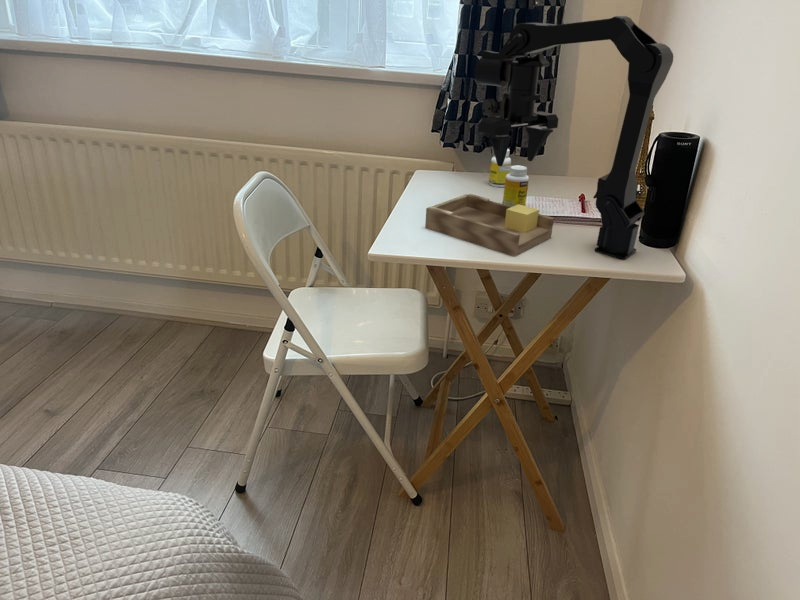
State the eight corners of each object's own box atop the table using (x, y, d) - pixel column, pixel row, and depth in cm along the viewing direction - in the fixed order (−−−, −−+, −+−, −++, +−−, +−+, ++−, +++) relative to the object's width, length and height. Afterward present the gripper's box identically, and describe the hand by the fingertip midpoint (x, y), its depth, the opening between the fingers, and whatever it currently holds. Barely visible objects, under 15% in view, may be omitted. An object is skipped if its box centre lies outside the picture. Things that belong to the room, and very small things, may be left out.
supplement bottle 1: (486, 182, 169) (489, 146, 165) (504, 181, 170) (508, 146, 165) (492, 187, 164) (495, 151, 160) (511, 187, 165) (515, 151, 161)
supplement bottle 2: (517, 213, 145) (522, 171, 141) (497, 208, 149) (502, 167, 144) (529, 208, 149) (534, 167, 144) (510, 203, 152) (514, 163, 148)
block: (536, 227, 131) (539, 209, 129) (524, 232, 128) (527, 214, 126) (516, 221, 134) (518, 204, 132) (504, 226, 131) (506, 209, 129)
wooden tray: (550, 237, 131) (554, 216, 129) (514, 256, 121) (517, 233, 119) (464, 212, 145) (466, 192, 142) (425, 227, 134) (426, 206, 132)
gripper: (526, 82, 137) (518, 151, 144) (463, 86, 127) (458, 161, 134) (564, 87, 129) (554, 161, 136) (500, 93, 119) (493, 172, 126)
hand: (515, 163), depth 133 cm, fingers open, 9 cm apart
